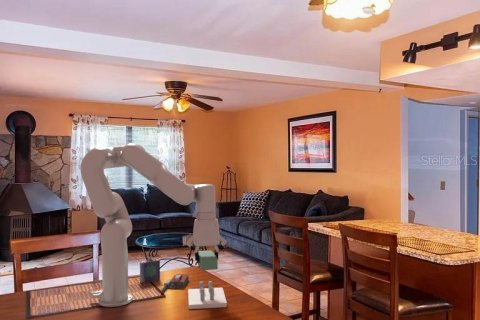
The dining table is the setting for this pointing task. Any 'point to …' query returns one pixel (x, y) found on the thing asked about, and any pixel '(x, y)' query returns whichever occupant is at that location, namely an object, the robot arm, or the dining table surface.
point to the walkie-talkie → (176, 281)
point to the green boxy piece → (207, 260)
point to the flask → (149, 270)
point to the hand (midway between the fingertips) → (206, 261)
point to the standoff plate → (206, 297)
